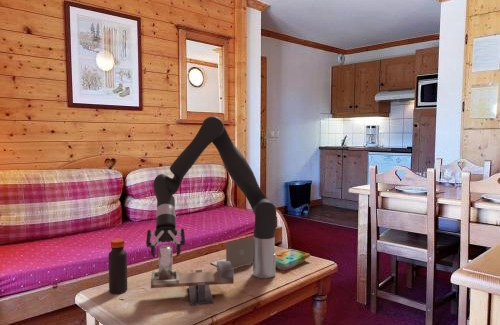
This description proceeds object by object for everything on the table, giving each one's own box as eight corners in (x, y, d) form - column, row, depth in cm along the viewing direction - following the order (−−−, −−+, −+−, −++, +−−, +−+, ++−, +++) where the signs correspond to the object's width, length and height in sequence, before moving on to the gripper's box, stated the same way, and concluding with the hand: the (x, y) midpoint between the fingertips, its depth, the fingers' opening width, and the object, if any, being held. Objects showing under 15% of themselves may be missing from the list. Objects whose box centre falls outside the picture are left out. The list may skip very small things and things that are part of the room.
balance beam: (229, 273, 150) (229, 260, 150) (233, 283, 140) (233, 269, 140) (151, 277, 144) (152, 264, 143) (150, 288, 134) (150, 274, 134)
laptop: (239, 256, 190) (239, 230, 189) (256, 262, 181) (256, 236, 180) (210, 264, 178) (210, 237, 177) (226, 271, 169) (226, 243, 168)
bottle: (114, 296, 142) (114, 244, 140) (105, 291, 146) (104, 240, 145) (130, 290, 147) (130, 240, 145) (121, 285, 151) (120, 237, 150)
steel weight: (172, 275, 143) (172, 244, 142) (172, 280, 138) (172, 248, 138) (158, 276, 142) (159, 245, 141) (158, 281, 137) (158, 249, 136)
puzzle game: (265, 256, 176) (290, 247, 191) (265, 266, 176) (290, 256, 191) (285, 262, 168) (310, 252, 183) (285, 272, 169) (309, 261, 184)
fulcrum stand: (208, 286, 152) (208, 268, 151) (213, 303, 136) (213, 284, 136) (188, 287, 150) (188, 270, 150) (190, 305, 135) (190, 286, 134)
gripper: (146, 213, 144) (145, 252, 134) (184, 212, 147) (185, 249, 137) (147, 223, 150) (146, 261, 139) (183, 222, 153) (185, 259, 142)
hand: (165, 255), depth 138 cm, fingers open, 8 cm apart
